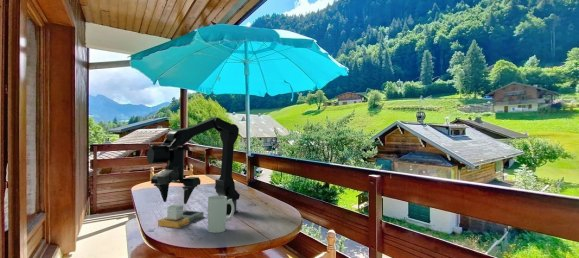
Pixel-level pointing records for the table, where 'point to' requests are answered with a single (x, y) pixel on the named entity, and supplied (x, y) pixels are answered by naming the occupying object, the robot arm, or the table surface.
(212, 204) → the mug
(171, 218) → the peg
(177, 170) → the robot arm
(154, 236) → the table surface
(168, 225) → the shallow compartment tray
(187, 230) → the table surface
